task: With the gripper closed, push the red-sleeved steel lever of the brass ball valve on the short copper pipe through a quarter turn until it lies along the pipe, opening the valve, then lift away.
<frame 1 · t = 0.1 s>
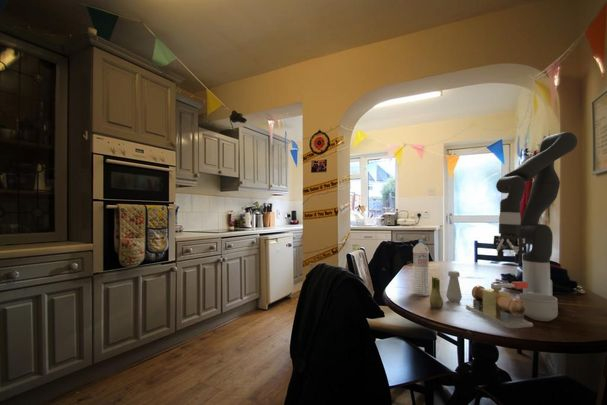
hand: (508, 261, 122), 17 cm above the table, tool pointing down, fingers open, 8 cm apart
teacup: (537, 317, 106), on the table
pipe run: (496, 316, 106), on the table
valve lever: (509, 285, 107), point 11 cm above the table, hinge at 0.0°
water bottle: (421, 294, 133), on the table
salt shaker: (454, 302, 123), on the table
fennel bulb: (436, 308, 115), on the table
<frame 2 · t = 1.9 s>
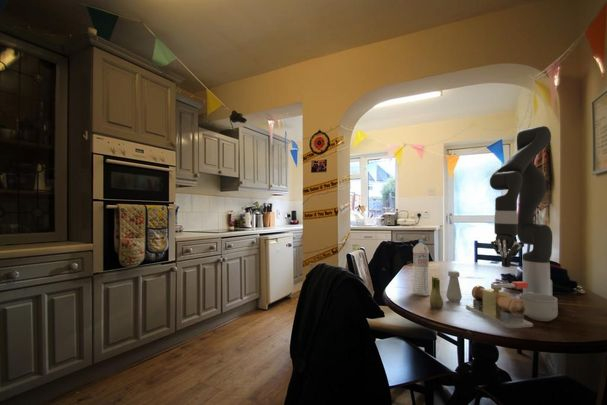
hand: (506, 266, 113), 17 cm above the table, tool pointing down, fingers closed
nothing on the table moved.
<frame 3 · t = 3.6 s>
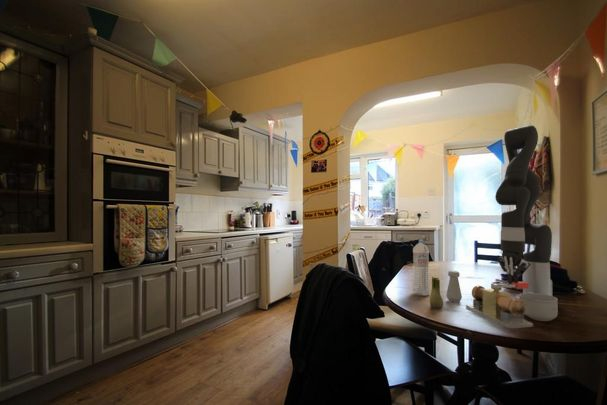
hand: (512, 284, 110), 11 cm above the table, tool pointing down, fingers closed
valve lever: (509, 285, 107), point 11 cm above the table, hinge at 1.2°, touching gripper
everything else where it was.
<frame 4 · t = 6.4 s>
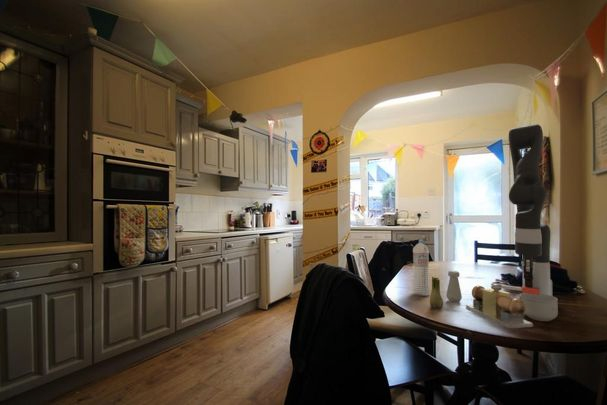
hand: (528, 290, 102), 11 cm above the table, tool pointing down, fingers closed
valve lever: (514, 288, 103), point 11 cm above the table, hinge at 46.0°, touching gripper
everything else where it was.
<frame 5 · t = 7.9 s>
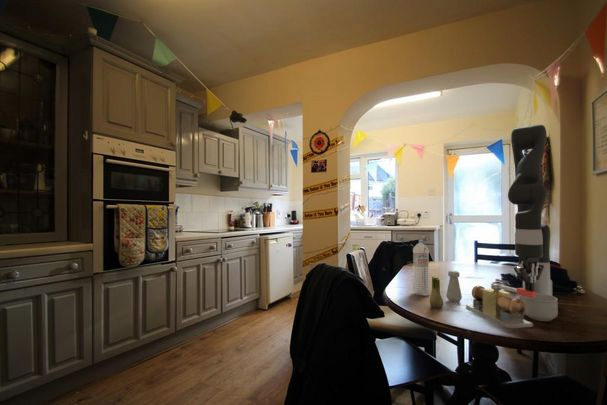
hand: (529, 293, 98), 11 cm above the table, tool pointing down, fingers closed
valve lever: (511, 289, 101), point 11 cm above the table, hinge at 73.4°, touching gripper
everything else where it was.
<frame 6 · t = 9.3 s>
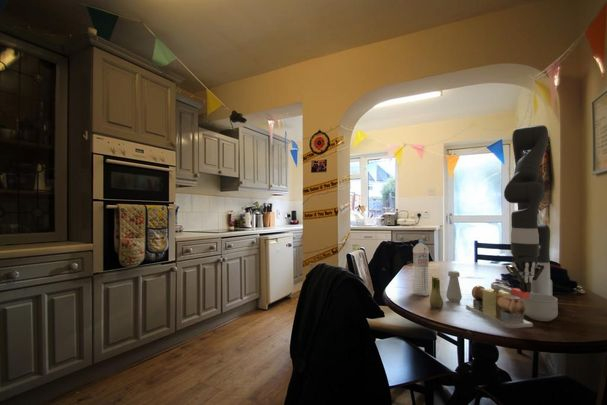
hand: (525, 293, 97), 11 cm above the table, tool pointing down, fingers closed
valve lever: (508, 289, 101), point 11 cm above the table, hinge at 90.4°
everything else where it was.
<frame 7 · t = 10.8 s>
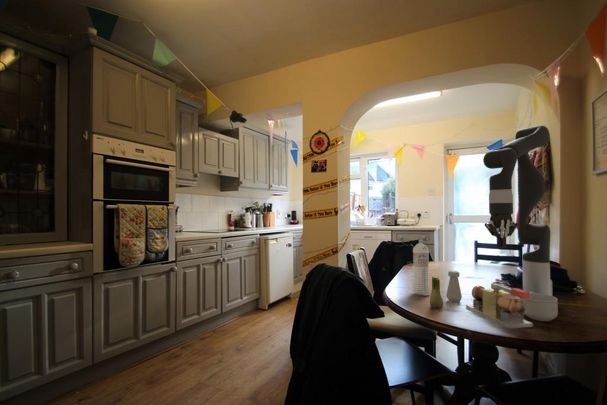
hand: (501, 247, 110), 25 cm above the table, tool pointing down, fingers closed
nothing on the table moved.
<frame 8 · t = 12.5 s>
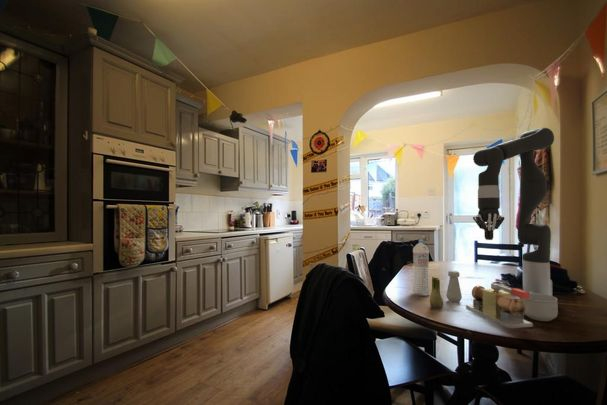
hand: (489, 239, 117), 27 cm above the table, tool pointing down, fingers closed
nothing on the table moved.
at the end: valve lever at +90° (first picture: +0°) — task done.
